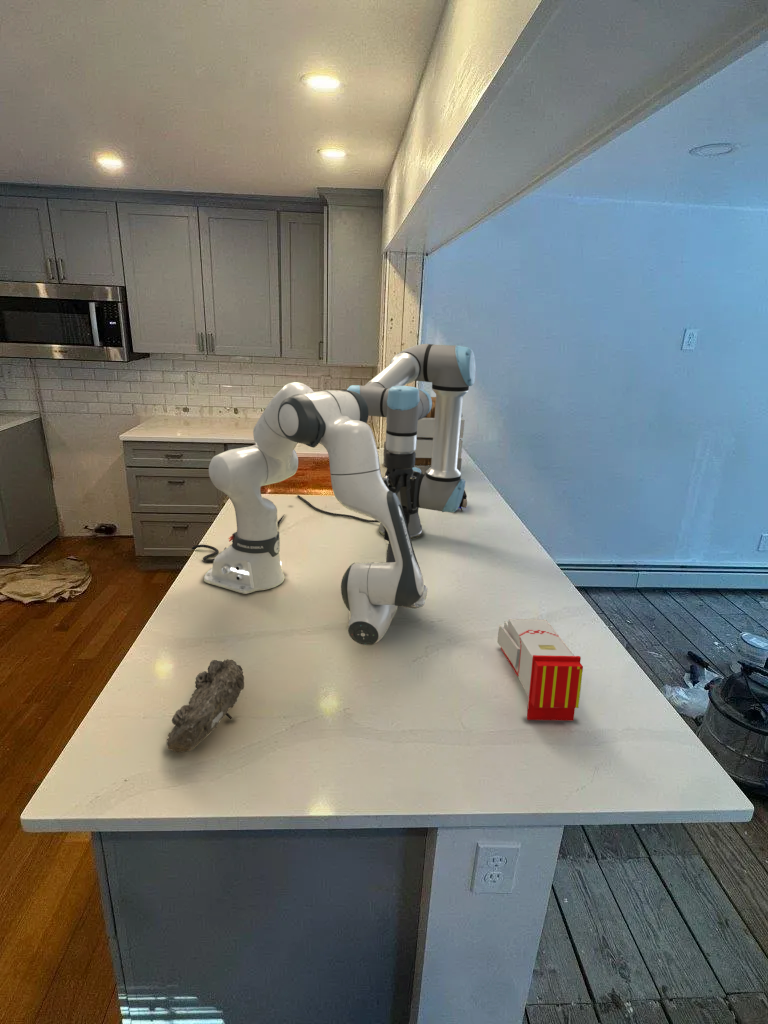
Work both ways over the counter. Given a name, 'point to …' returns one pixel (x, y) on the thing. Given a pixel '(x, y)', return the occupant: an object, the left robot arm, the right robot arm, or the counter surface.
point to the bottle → (390, 554)
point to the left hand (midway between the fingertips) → (394, 577)
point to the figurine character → (463, 501)
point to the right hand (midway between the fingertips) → (395, 537)
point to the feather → (280, 520)
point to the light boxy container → (429, 439)
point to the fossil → (206, 705)
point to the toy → (542, 668)
